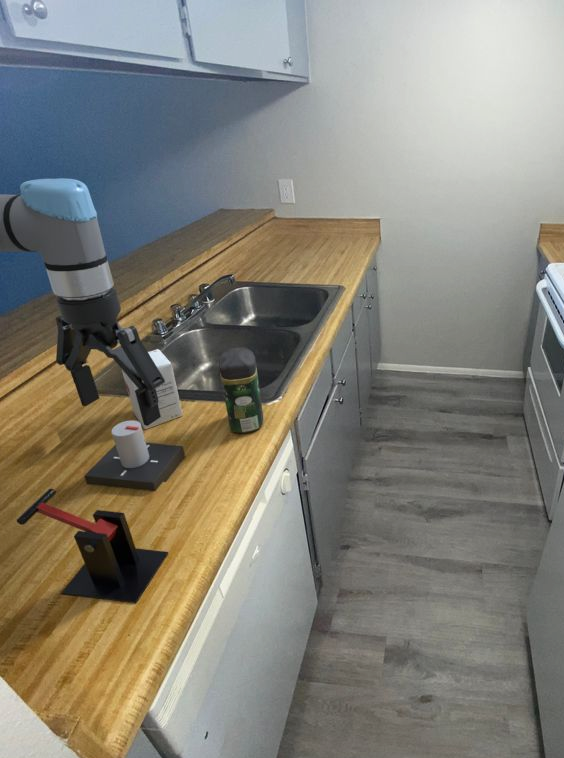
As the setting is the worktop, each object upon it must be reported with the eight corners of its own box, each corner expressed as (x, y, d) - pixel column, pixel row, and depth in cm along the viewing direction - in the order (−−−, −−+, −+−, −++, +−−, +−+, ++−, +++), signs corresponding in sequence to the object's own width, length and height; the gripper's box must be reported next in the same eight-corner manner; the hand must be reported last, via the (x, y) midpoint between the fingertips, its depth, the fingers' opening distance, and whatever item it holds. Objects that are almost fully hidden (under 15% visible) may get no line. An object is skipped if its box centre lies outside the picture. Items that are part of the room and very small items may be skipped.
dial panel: (88, 487, 92) (83, 475, 91) (123, 450, 102) (119, 439, 101) (156, 494, 91) (153, 482, 90) (185, 456, 101) (182, 445, 100)
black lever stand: (62, 598, 72) (37, 544, 67) (102, 549, 80) (82, 497, 74) (137, 607, 71) (118, 553, 66) (169, 556, 79) (155, 505, 74)
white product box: (132, 412, 114) (117, 358, 107) (171, 399, 120) (159, 347, 113) (143, 430, 108) (128, 375, 101) (184, 416, 114) (172, 362, 107)
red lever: (15, 525, 67) (17, 515, 66) (47, 494, 73) (49, 484, 72) (96, 557, 69) (99, 548, 68) (122, 525, 74) (125, 516, 73)
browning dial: (116, 467, 93) (105, 433, 89) (131, 450, 98) (121, 418, 94) (140, 469, 93) (130, 435, 89) (154, 452, 97) (145, 420, 93)
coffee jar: (228, 413, 115) (217, 346, 107) (262, 408, 118) (254, 342, 109) (228, 437, 107) (216, 367, 99) (264, 431, 110) (256, 362, 101)
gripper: (172, 296, 68) (197, 416, 78) (50, 271, 76) (86, 384, 85) (129, 315, 62) (161, 443, 72) (0, 286, 69) (45, 405, 79)
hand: (121, 411), depth 79 cm, fingers open, 13 cm apart
